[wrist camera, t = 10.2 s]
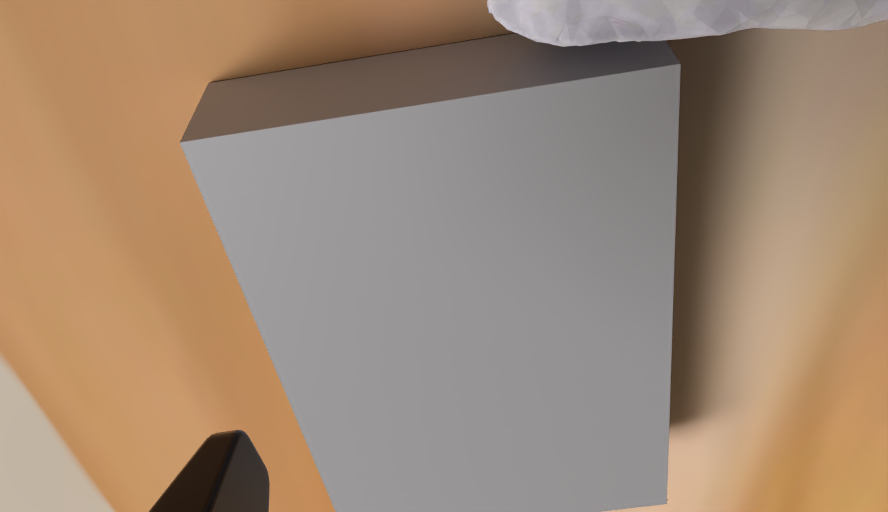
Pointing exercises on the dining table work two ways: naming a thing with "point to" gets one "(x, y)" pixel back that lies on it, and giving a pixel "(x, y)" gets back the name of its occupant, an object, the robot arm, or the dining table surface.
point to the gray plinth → (461, 266)
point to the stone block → (674, 18)
